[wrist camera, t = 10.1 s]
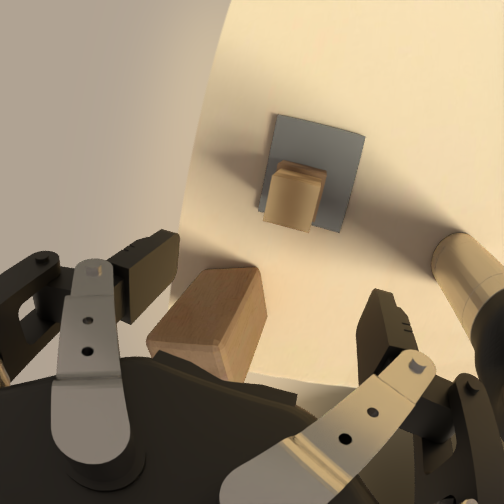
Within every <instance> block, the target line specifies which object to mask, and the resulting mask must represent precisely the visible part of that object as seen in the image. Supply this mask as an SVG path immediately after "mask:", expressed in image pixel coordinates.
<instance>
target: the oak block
mask: <svg viewBox="0 0 504 504" xmlns="http://www.w3.org/2000/svg"><path fill="white" fill-rule="evenodd" d="M320 188H321V178H318V177H314V176H310V175H306V174H302V173H298V172H294V171H290V170H286V169H279V170H278V171H277V172H276V173H274V174H273V175H272V179H271V184H270V189H269V194H268V198H267V203H266V208H265V213H264V218H263V221H265V222H269V223H273V224H277V225H281V226H285V227H289V228H292V229H296V230H300V231H304V232H307V233H309V230H310V227H311V223H312V219H313V215H314V211H315V208H316V204H317V200H318V196H319V192H320Z"/></svg>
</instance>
